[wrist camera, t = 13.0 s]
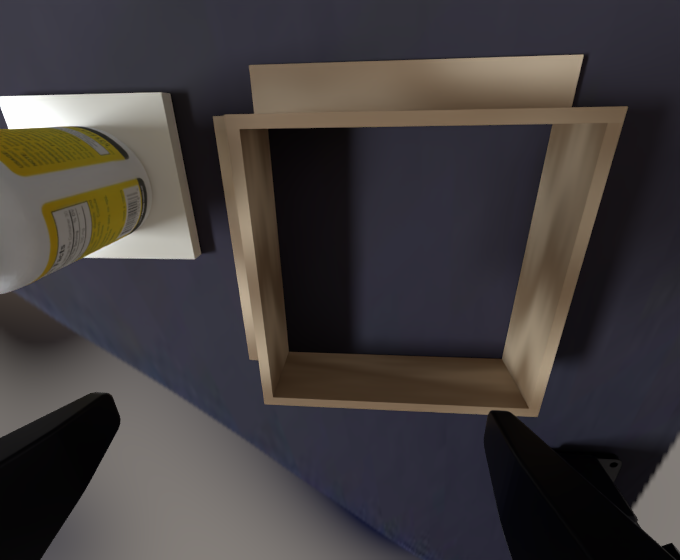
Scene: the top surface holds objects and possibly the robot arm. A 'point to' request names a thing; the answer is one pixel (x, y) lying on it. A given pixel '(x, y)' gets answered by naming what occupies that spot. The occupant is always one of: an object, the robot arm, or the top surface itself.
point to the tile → (149, 147)
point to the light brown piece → (420, 110)
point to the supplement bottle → (64, 198)
